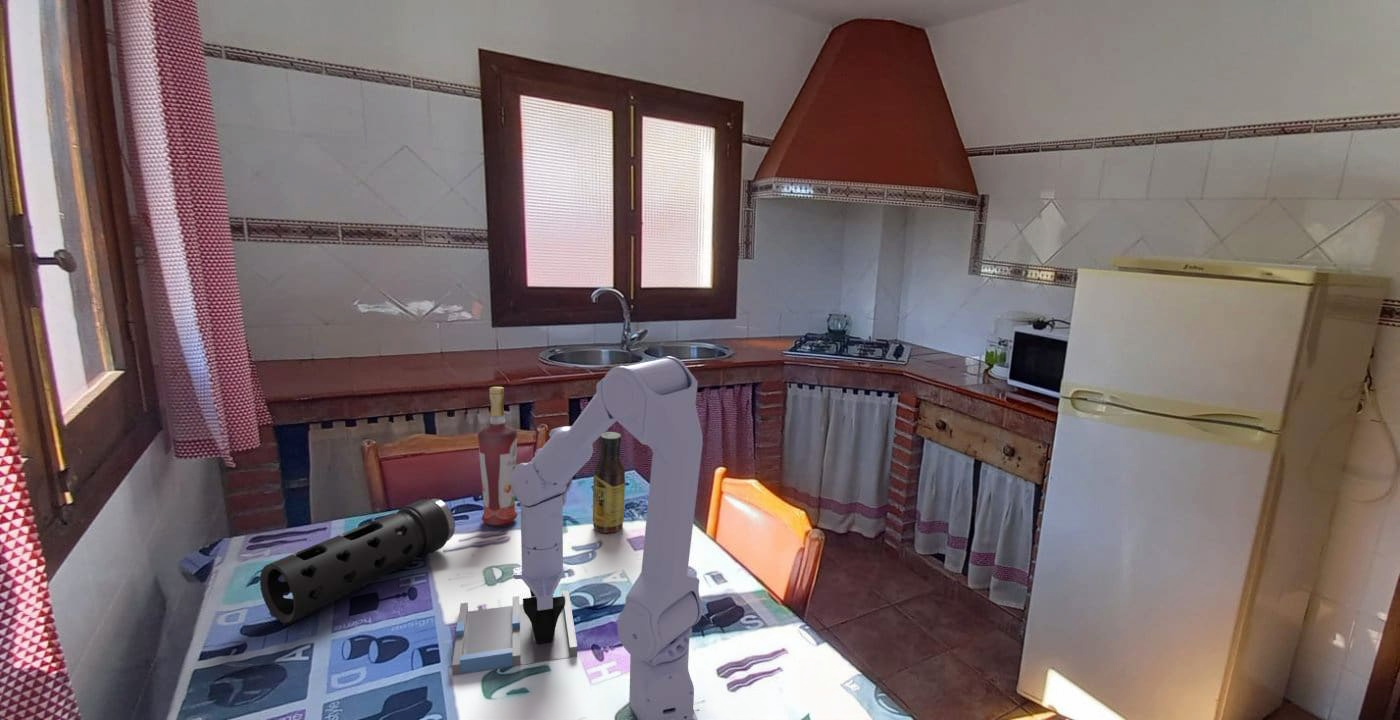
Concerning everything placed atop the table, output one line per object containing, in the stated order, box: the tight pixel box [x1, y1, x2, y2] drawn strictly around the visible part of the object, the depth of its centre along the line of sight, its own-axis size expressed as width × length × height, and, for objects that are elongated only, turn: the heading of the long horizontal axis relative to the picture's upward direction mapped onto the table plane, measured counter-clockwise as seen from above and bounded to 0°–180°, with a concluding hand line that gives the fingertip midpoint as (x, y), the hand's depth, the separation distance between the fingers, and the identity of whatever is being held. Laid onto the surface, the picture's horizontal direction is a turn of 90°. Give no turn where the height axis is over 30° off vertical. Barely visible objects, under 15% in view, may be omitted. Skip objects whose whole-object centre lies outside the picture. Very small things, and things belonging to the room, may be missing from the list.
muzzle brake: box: [259, 498, 456, 626], centre depth 100 cm, size 10×28×10 cm, turn 152°
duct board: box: [451, 589, 578, 677], centre depth 88 cm, size 14×16×3 cm
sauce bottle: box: [592, 431, 626, 534], centre depth 121 cm, size 7×6×20 cm
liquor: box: [477, 386, 518, 528], centre depth 121 cm, size 7×7×28 cm
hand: (543, 625), depth 89 cm, fingers open, 7 cm apart
